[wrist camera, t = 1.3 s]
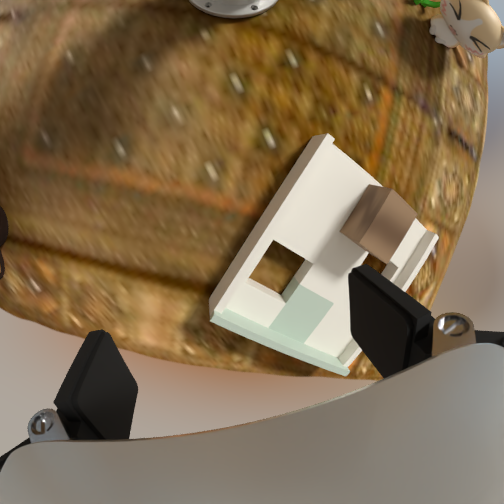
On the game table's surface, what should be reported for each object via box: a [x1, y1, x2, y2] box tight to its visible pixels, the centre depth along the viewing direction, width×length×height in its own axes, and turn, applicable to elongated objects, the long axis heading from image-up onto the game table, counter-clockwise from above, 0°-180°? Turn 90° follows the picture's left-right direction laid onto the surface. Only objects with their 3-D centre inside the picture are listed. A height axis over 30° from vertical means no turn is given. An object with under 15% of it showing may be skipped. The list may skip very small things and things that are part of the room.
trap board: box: [209, 133, 439, 376], centre depth 35 cm, size 24×22×6 cm
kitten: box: [414, 0, 504, 58], centre depth 22 cm, size 15×10×15 cm
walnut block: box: [339, 184, 417, 264], centre depth 31 cm, size 7×5×5 cm
